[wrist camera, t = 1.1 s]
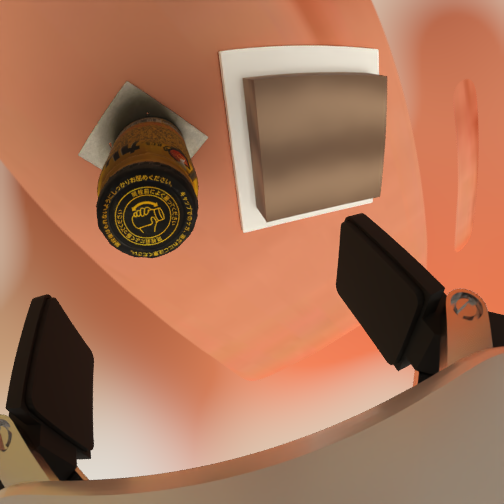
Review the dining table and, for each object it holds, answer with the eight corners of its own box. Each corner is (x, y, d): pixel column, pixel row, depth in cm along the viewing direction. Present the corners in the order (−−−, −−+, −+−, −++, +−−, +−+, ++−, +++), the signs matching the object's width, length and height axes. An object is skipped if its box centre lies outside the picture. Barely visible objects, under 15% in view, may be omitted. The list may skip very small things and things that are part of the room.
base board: (218, 51, 20) (220, 51, 20) (373, 48, 23) (378, 49, 23) (241, 228, 31) (243, 233, 30) (368, 199, 33) (372, 202, 33)
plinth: (242, 77, 22) (253, 80, 19) (366, 72, 24) (386, 76, 21) (256, 206, 29) (266, 222, 27) (363, 184, 31) (379, 196, 29)
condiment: (157, 201, 27) (165, 291, 17) (78, 154, 22) (32, 223, 12) (208, 136, 25) (247, 191, 15) (127, 80, 20) (102, 93, 10)
